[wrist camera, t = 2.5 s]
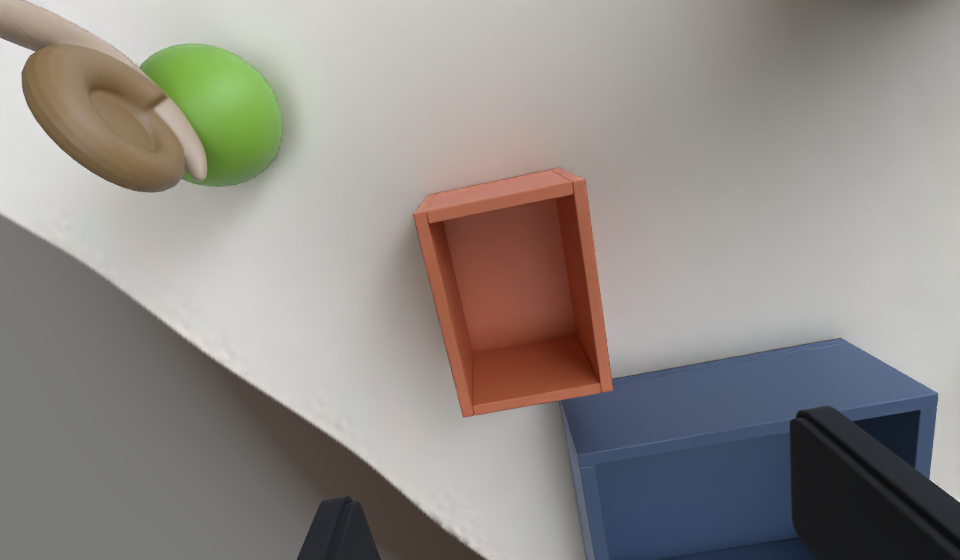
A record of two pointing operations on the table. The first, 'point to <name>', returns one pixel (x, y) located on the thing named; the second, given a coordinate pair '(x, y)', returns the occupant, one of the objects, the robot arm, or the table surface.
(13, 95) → the table surface
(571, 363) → the small tote
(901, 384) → the big tote
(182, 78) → the snail figurine
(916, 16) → the table surface
